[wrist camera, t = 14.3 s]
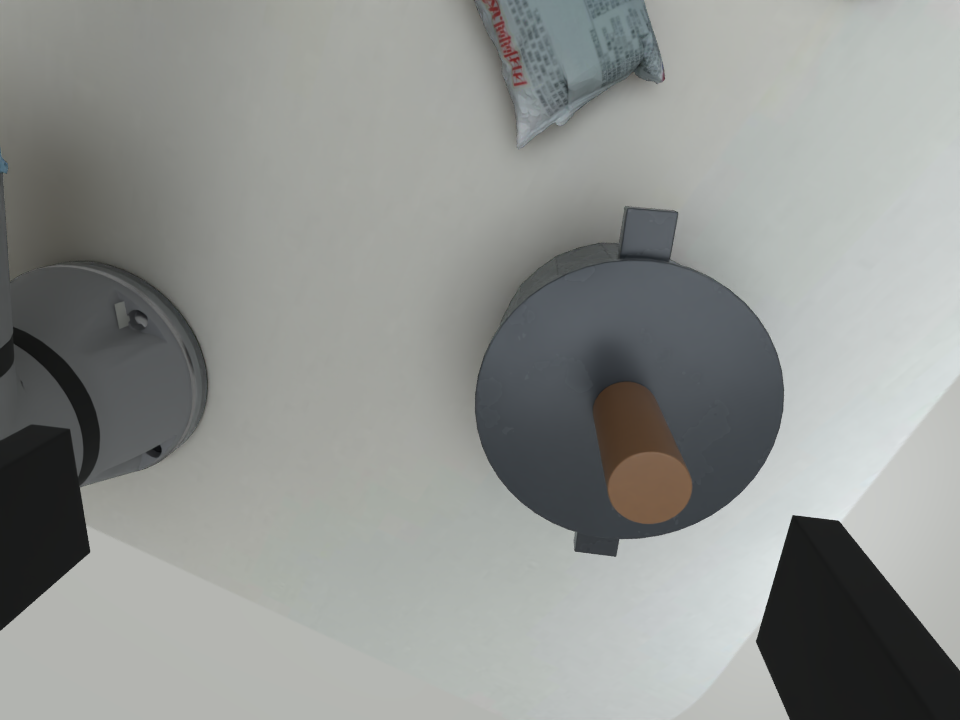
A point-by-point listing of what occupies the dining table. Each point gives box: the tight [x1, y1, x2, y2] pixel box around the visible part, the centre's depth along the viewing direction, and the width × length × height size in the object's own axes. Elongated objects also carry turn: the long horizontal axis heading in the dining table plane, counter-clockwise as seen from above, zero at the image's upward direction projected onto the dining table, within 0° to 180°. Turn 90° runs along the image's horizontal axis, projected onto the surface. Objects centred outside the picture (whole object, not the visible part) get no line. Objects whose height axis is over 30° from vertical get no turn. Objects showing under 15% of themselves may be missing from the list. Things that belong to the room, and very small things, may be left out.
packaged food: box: [474, 0, 665, 149], centre depth 31 cm, size 9×12×5 cm
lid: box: [475, 258, 784, 539], centre depth 27 cm, size 15×15×9 cm
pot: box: [499, 206, 680, 557], centre depth 35 cm, size 14×19×9 cm
